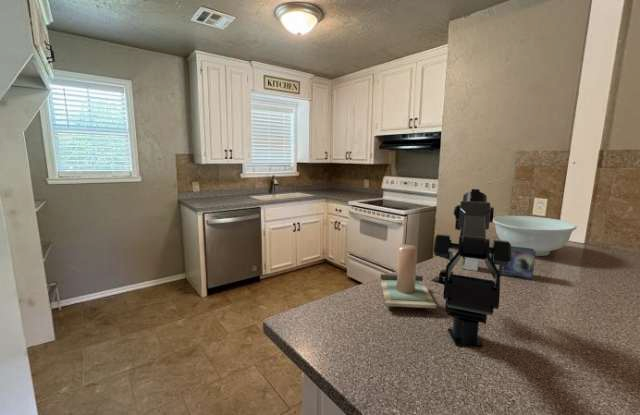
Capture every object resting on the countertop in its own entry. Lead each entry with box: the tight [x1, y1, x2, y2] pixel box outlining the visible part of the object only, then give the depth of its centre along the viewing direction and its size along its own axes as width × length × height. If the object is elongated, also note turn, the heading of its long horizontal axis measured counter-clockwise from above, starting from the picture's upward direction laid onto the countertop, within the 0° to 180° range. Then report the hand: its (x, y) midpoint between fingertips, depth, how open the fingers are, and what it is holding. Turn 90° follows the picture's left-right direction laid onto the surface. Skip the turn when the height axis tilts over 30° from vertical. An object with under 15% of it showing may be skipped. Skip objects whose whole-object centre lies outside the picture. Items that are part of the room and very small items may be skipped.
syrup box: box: [461, 257, 480, 272], centre depth 119 cm, size 6×6×14 cm
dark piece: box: [430, 268, 454, 286], centre depth 107 cm, size 12×7×5 cm, turn 42°
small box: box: [498, 246, 537, 281], centre depth 112 cm, size 11×6×10 cm, turn 62°
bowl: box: [492, 215, 578, 257], centre depth 140 cm, size 32×32×15 cm
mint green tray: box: [380, 273, 437, 313], centre depth 94 cm, size 18×14×4 cm
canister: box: [396, 244, 418, 294], centre depth 93 cm, size 6×6×14 cm
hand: (469, 262), depth 88 cm, fingers open, 9 cm apart
